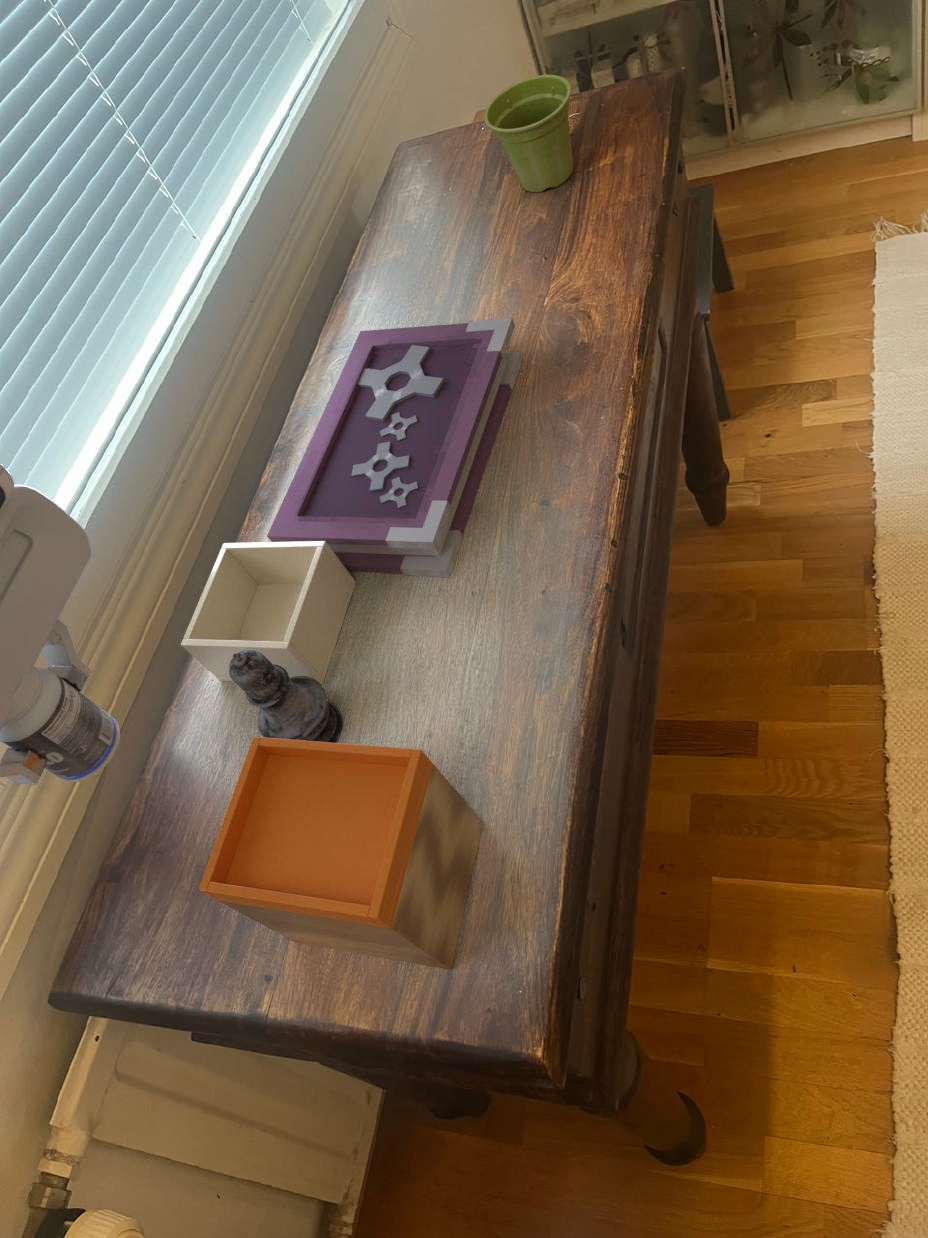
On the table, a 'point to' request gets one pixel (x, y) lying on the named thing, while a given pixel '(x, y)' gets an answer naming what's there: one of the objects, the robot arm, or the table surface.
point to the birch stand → (406, 892)
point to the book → (403, 447)
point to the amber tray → (320, 829)
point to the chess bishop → (285, 700)
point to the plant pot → (535, 130)
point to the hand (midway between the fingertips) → (57, 725)
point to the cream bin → (271, 607)
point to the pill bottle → (60, 726)
